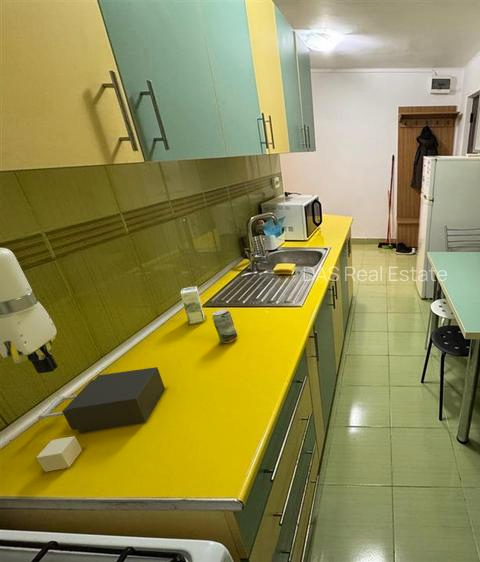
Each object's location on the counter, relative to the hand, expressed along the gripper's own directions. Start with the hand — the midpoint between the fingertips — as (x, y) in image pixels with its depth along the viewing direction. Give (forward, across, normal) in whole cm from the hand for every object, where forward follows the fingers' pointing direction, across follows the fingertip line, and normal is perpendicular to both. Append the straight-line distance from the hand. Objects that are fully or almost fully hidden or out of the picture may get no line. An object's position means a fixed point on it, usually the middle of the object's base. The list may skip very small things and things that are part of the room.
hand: (48, 370), depth 74 cm
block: (+16, +14, +6) cm, 22 cm away
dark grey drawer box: (+16, 0, +12) cm, 20 cm away
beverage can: (+16, -30, +32) cm, 47 cm away
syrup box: (+16, -49, +16) cm, 54 cm away
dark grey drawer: (+15, 0, +6) cm, 16 cm away
